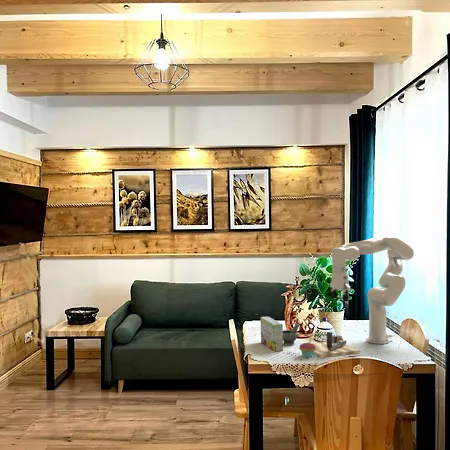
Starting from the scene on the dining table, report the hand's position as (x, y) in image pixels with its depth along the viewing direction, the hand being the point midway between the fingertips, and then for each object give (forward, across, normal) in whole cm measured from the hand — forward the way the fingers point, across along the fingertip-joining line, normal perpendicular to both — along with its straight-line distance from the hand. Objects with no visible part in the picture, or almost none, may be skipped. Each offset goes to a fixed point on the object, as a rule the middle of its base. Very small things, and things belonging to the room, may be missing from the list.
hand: (340, 300), depth 297 cm
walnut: (+25, +2, -1) cm, 25 cm away
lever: (+24, -6, +8) cm, 26 cm away
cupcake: (+26, -8, +28) cm, 39 cm away
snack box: (+25, +18, +35) cm, 47 cm away
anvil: (+25, +5, -1) cm, 26 cm away
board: (+26, -3, +11) cm, 28 cm away
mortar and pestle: (+26, +18, +23) cm, 39 cm away
